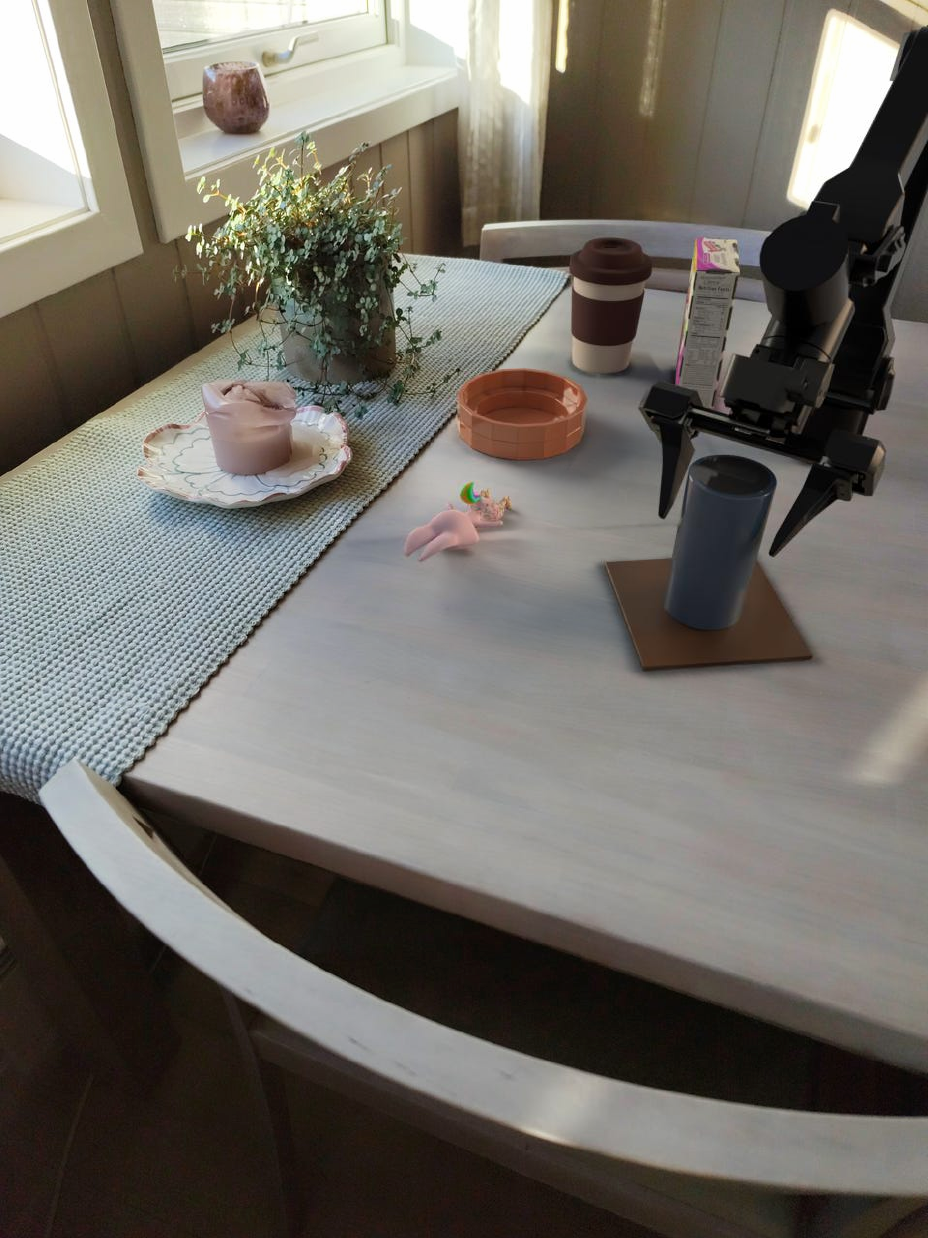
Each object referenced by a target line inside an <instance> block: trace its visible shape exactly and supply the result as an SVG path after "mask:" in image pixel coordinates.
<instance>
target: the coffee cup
mask: <svg viewBox="0 0 928 1238" xmlns="http://www.w3.org/2000/svg"><path fill="white" fill-rule="evenodd" d="M653 265H654V261H653V258H652V257H650V256H649V255H648V254H646V253H644V252H643V247H642V246H641V245H640V244H639V243H638V242H636V241H634V240H632V239H628V238H622V237H615V236H614V237H613V236H606V237H605V236H604V237H597V238H592V239H589V240H587V241H586V242H585V243H584V245H583V247H582V248H581V249H579V250H577V251H575V252H573V254H572V255H571V256H570V258H569V267H568V268H569V273H570V274H571V275H572V277H573V285H572V287H571V316H570V317H571V320H570V321H571V322H570V323H571V325H570V332H571V335H572V354H571V355H572V357H571V358H572V359H571V360H572V363H573V366H575V367H576V368H578V369H580V370H582V371H585V372H588V373H593V374H600V375H603V374H605V375H606V374H616V373H619V372H621V371H624V370H625V369H627V368H628V366H629V364H630V358H631V353H632V348H633V344H634V340H635V338H636V336H637V332H638V327H639V322H640V317H641V314H642V313H641V312H642V306H643V303H644V298H645V291H646V290H645V284H646V281H647V280H648V279H650V278H651V276H652V273H653Z"/></svg>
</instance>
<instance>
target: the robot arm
mask: <svg viewBox="0 0 928 1238" xmlns="http://www.w3.org/2000/svg"><path fill="white" fill-rule="evenodd" d="M889 81H890V82H891V85H890V87H889V88H888V91H887V92H886V94H885V96H884V98H883V100H882V102H881V104H880V107H879V108H878V110H877V112H876V114H875V116H874V118H873V120H872V122H871V124H870V126H869V128H868V130H867V132H866V134H865V136H864V137H863V140H862V142H861V143H860V146H859V148H858V150H857V152H856V154H855V156H854V158H853V159H852V161H851V163H850V164H849V166H848V167H847V168H845V169H844V170H842V171H840V172H839V173H837V174H835V175H834V176H831V177H830V178H829V179H827V180H826V181H824V182H823V183H822V185H821V187H820V189H819V190H818V191H817V193H816V195H815V197H814V198H813V200H812V201H811V202H810V204H809V207H808V208H807V210H802V211H801V212H800V213H799V214H798V215H797V216H795V217H792V218H790V219H788V220H786V221H785V222H782V223H781V224H780V225H778V226H777V227H776V228H774V230H772V231H771V233H770V234H769V235H768V236H766V237H765V239H764V240H763V243H762V245H761V248H760V251H759V257H758V258H759V260H758V261H759V263H758V264H759V269H760V275H761V280H762V286H763V292H764V296H765V301H766V307H767V311H768V312H769V313H770V315H771V317H770V319H769V322H768V324H767V326H766V328H765V331H764V332H763V334H762V337H761V340H760V342H759V343H756V344H755V346H754V348H753V349H752V351H751V353H750V355H749V356H746V355H742V354H738V353H732V354H731V357H730V360H729V363H728V366H727V369H726V372H725V374H724V378H723V381H722V384H721V387H720V390H719V393H718V397H719V398H723V404H724V407H725V408H728V409H730V410H729V412H728V413H726V412H722V411H718V410H715V409H708V408H704V407H703V404H702V402H701V399H700V397H699V394H698V392H697V391H696V390H692V389H688V388H685V387H681V386H677V385H675V384H673V383H669V382H666V381H663V380H658V381H655V382H654V383H653V384H651V385H650V386H649V387H647V388H646V389H645V391H644V393H643V396H642V397H641V400H640V403H639V405H638V407H637V409H638V411H639V413H640V414H641V416H642V417H643V419H644V421H645V422H646V424H647V426H648V429H650V431H652V432H653V433H654V435H655V436H656V439H657V440H658V442H659V443H660V444H661V459H662V461H661V462H662V463H661V478H660V488H659V489H660V490H659V499H658V501H659V502H658V513H657V514H658V517H659V519H661V520H665V519H666V518H667V516H668V515H669V513H670V511H671V509H672V508H673V506H674V504H675V501H676V499H677V497H678V494H679V492H680V489H681V486H682V484H683V481H684V480H685V476H686V473H687V472H688V470H689V468H690V464H691V462H692V459H693V457H694V454H695V451H696V448H695V447H694V444H693V442H692V441H691V440H694V439H696V438H698V437H699V435H700V433H703V434H707V435H710V436H713V437H716V438H720V439H723V440H727V441H730V442H735V443H738V444H741V445H744V446H748V447H752V448H754V449H758V450H761V451H764V452H768V453H772V454H775V455H779V456H782V457H785V458H789V459H792V460H795V461H800V462H803V463H806V464H809V465H811V467H810V470H809V472H808V474H807V476H806V479H805V482H804V484H803V486H802V488H801V490H800V492H799V493H798V495H797V497H796V499H795V500H794V502H793V504H792V506H791V507H790V509H789V511H788V512H787V515H786V516H785V518H784V519H783V521H782V522H781V524H780V527H778V530H777V532H776V534H775V536H774V538H773V540H772V543H771V545H770V547H769V549H768V556H769V557H771V558H775V557H777V555H778V554H779V553H780V552H781V551H782V550H783V549H784V548H785V547H786V546H787V545H788V544H789V543H790V542H791V541H792V540H793V539H794V538H795V537H797V535H798V534H799V533H800V532H801V531H802V530H803V529H804V528H805V527H806V526H807V525H808V524H809V523H810V522H811V521H812V520H813V519H815V518H816V517H817V516H818V515H820V514H821V513H822V512H823V511H825V510H826V509H827V508H828V507H830V506H831V505H833V504H834V503H836V501H838V500H839V501H843V502H851V501H852V499H853V497H854V494H857V495H859V496H863V497H873V495H874V494H875V491H876V489H877V487H878V484H879V482H880V481H881V478H882V475H883V473H884V470H885V464H886V456H887V455H886V454H887V450H886V447H885V445H884V443H883V441H882V440H880V439H877V438H872V437H869V436H866V435H864V432H865V429H866V425H867V423H868V420H869V417H870V416H874V415H875V414H876V412H880V411H886V410H887V408H888V406H889V402H890V400H891V396H892V394H893V390H894V386H895V385H894V383H895V380H896V372H895V370H894V366H895V357H894V356H891V353H892V351H893V348H894V345H895V342H896V334H895V333H896V332H895V328H894V324H893V320H892V314H891V306H892V303H893V300H894V298H895V295H896V292H897V289H898V287H899V284H900V281H901V279H902V276H903V273H904V270H905V268H906V265H907V262H908V260H909V257H910V254H911V252H912V249H913V246H914V243H915V242H916V238H917V235H918V233H919V230H920V228H921V225H922V222H923V219H924V216H925V214H926V211H927V209H928V24H926V25H925V26H922V27H921V28H919V29H911V31H910V32H903V34H902V38H901V41H900V45H899V48H898V52H897V55H896V58H895V61H894V64H893V67H892V70H891V74H890V77H889Z"/></svg>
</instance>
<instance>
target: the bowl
mask: <svg viewBox="0 0 928 1238" xmlns="http://www.w3.org/2000/svg"><path fill="white" fill-rule="evenodd" d="M456 396H457V397H456V398H457V401H456V402H457V403H456V404H457V405H456V406H457V407H456V408H457V411H456V412H457V417H456V418H457V419H456V420H457V430H458V434H459V435H458V436H459V438H460V439H461V440H462V441H464V442H465V443H466V445H467V446H469V447H470V448H471V449H473V450H476V451H478V452H480V453H483V454H485V455H488V456H491V457H494V458H500V459H506V460H507V459H508V460H513V461H527V460H529V461H530V460H545V459H547V458H551V457H555V456H558V455H559V456H560V455H562V454H565V453H567V452H568V451H570V450H571V449H572V448H574V447H575V446H577V445H579V444H580V442H581V440H582V438H583V435H584V433H585V427H586V416H587V408H588V398H587V395H586V393H585V391H584V389H583V387H582V386H580V385H579V384H578V383H577V382H575V381H573V379H571V378H569V377H566V376H563V375H560V374H557V373H555V372H551V371H548V370H542V369H541V370H540V369H535V368H534V369H533V368H525V367H523V368H502V369H501V368H500V369H497V370H491V371H488V372H483V373H480V374H478V375H476V376H474V377H472V378H470V379H468V380H466V381H465V382H464V383H463V384H462V386H461V387H460V388H459V390H458V392H457V395H456Z"/></svg>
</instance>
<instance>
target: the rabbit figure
mask: <svg viewBox="0 0 928 1238" xmlns="http://www.w3.org/2000/svg"><path fill="white" fill-rule="evenodd" d="M474 484H475V482H474V481H473V482H472V481H471V482H469V483H466V484H465V485H464V486H463V487H462V489H461V491H460V494H459V497H460V499H461V501H462V502H463V503H464V504H466V509H467V510H466V511H465V512H463V511H460V510H457V509H455V508H454V505H453V504H452V503H451V502H448V503H447V504H446V508H447V510H444V511H441V512H439V513H438V514H436V515H434V516H433V518H431V520H430V522H429V523H428V524H426V525H420V526H418V527H416V528H414V529H413V530H412V531H411V532H409V534H408V535H407V537H406V539H405V542H404V543H405V544H404V556H405V557H410V556H411V555H413V554H414V553H415V552H417V551H418V550H420V549H422V547H424V546H425V548H424V550H423V551H422V553H421V554H420V556H419V558H418V562H419V563H420V562H421V563H422V562H424V561H426V560H429V559H430V558H431V557H433V556H434V555H436V554H438V553H439V552H441V551H445V550H446V551H449V552H450V551H452V552H453V551H458V550H462V549H464V548H468V547H471V546H473V545H475V544H477V543H478V542H479V539H480V538H479V537H480V536H479V533H478V531H477V528H493V527H502V526H503V524H504V523H503V521H502V520H501V519H502V517H503V516H504V513H505V508H506V509H509V510H511V509H512V508H511V507H512V505H511V504H512V503H511V499H510V496H511V495H510V494H511V493H509V494H508V496H507V497H505V496H504V497H502V499H500V500H497V501H496V500H494V499H493V498H490V492H489V489H490V486H488V487H487V489H486V491H485V490H484V489H482V490H481V491H480V493H479V492H478V491H476V490H474Z"/></svg>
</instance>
